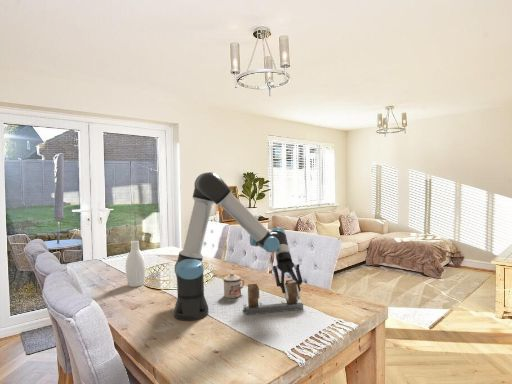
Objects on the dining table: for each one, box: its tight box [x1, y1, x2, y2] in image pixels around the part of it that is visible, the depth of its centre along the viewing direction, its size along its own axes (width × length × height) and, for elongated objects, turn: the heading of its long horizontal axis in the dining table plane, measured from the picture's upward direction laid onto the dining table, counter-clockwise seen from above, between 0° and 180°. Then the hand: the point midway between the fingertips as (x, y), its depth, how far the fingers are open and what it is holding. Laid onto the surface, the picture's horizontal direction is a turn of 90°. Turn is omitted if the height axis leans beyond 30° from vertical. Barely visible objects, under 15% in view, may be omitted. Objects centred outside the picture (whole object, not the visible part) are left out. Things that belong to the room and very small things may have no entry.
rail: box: [243, 299, 304, 315], centre depth 153 cm, size 27×7×2 cm, turn 100°
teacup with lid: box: [222, 272, 245, 299], centre depth 173 cm, size 12×9×12 cm
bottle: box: [125, 240, 147, 288], centre depth 195 cm, size 11×11×25 cm
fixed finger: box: [247, 283, 260, 306], centre depth 153 cm, size 5×4×11 cm
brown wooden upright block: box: [284, 279, 298, 303], centre depth 157 cm, size 5×4×11 cm
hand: (293, 298), depth 153 cm, fingers open, 5 cm apart
